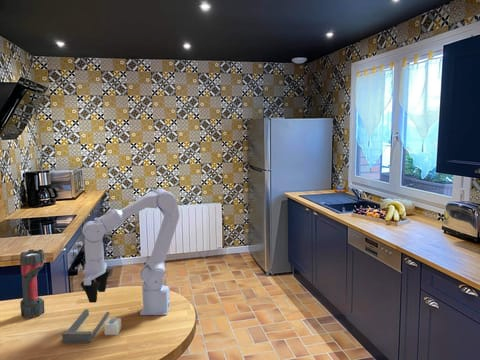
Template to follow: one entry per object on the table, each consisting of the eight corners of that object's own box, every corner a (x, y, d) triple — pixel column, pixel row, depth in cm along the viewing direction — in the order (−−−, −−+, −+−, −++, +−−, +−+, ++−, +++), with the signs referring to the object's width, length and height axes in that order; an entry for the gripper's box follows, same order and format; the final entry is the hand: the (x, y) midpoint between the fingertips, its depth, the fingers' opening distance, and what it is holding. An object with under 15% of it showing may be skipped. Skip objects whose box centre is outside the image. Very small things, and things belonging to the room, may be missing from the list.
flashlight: (54, 310, 135) (49, 249, 131) (35, 321, 128) (29, 257, 124) (38, 307, 138) (33, 247, 134) (19, 317, 130) (13, 254, 127)
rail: (109, 314, 132) (108, 306, 131) (90, 342, 115) (89, 333, 114) (85, 314, 132) (84, 306, 131) (62, 343, 115) (61, 334, 114)
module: (121, 328, 123) (120, 317, 122) (117, 335, 119) (116, 323, 118) (109, 328, 123) (108, 317, 122) (104, 335, 119) (104, 323, 118)
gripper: (91, 250, 130) (94, 287, 132) (72, 266, 115) (76, 307, 117) (111, 250, 130) (114, 287, 132) (95, 265, 115) (98, 307, 117)
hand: (97, 296), depth 125 cm, fingers open, 7 cm apart
